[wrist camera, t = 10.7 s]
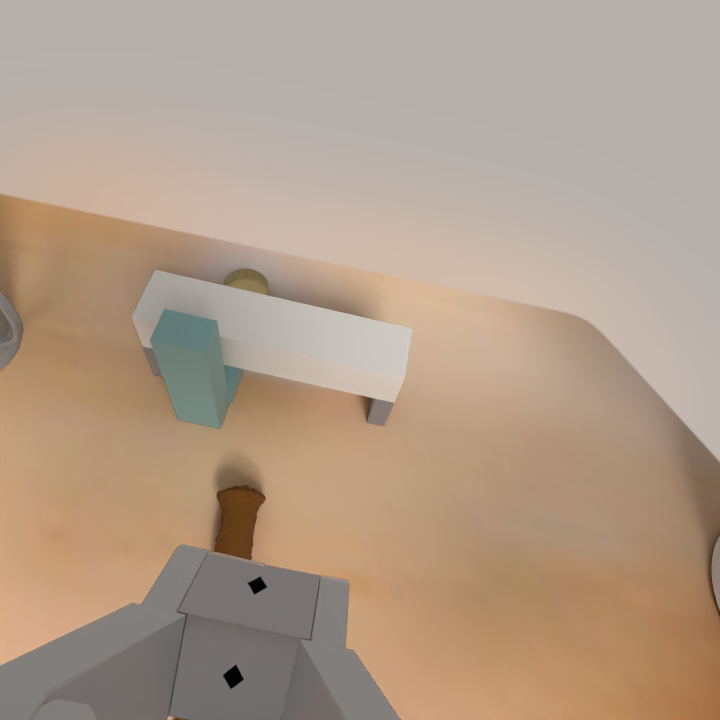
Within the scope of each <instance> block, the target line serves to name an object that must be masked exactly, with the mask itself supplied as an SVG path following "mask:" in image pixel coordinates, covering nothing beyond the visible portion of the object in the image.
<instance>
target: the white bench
mask: <svg viewBox="0 0 720 720" xmlns="http://www.w3.org/2000/svg"><path fill="white" fill-rule="evenodd" d="M164 309H167V310H172V311H176V312H181V313H185V314H190V315H194V316H198V317H203V318H207V319H212V320H216V321H217V322H218V329H219V335H220V342H221V349H222V355H223V362H224V365H227V366H232V367H236V368H241V369H245V370H250V371H254V372H259V373H263V374H268V375H272V376H277V377H281V378H286V379H290V380H294V381H299V382H303V383H308V384H312V385H317V386H321V387H326V388H330V389H335V390H339V391H344V392H348V393H353V394H357V395H361V396H366V397H370V398H371V403H370V409H369V414H368V420H367V422H368V423H373V424H377V425H382V426H384V425H385V423H386V421H387V418H388V416H389V414H390V412H391V409H392V407H393V405H394V402H395V400H396V398H397V396H398V393H399V391H400V389H401V387H402V384H403V382H404V380H405V376H406V369H407V363H408V356H409V349H410V343H411V336H412V329H413V328H409V327H404V326H400V325H395V324H391V323H387V322H382V321H378V320H374V319H369V318H365V317H360V316H356V315H352V314H347V313H343V312H338V311H334V310H330V309H325V308H321V307H317V306H312V305H308V304H303V303H299V302H295V301H290V300H286V299H282V298H277V297H273V296H268V295H264V294H260V293H255V292H251V291H247V290H242V289H238V288H233V287H229V286H225V285H220V284H216V283H211V282H207V281H203V280H198V279H194V278H190V277H185V276H181V275H176V274H172V273H168V272H163V271H159V270H155V271H154V273H153V275H152V277H151V279H150V281H149V283H148V285H147V287H146V289H145V291H144V293H143V295H142V297H141V299H140V301H139V303H138V305H137V307H136V309H135V311H134V313H133V315H132V320H133V322H134V325H135V327H136V330H137V333H138V335H139V338H140V340H141V343H142V346H143V348H144V351H145V354H146V356H147V359H148V361H149V364H150V367H151V369H152V372H153V374H154V375H157V376H161V377H163V376H162V373H161V371H160V368H159V365H158V362H157V359H156V357H155V354H154V351H153V348H152V345H151V343H150V338H151V336H152V334H153V332H154V330H155V328H156V325H157V323H158V321H159V319H160V317H161V315H162V313H163V310H164Z"/></svg>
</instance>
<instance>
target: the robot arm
mask: <svg viewBox="0 0 720 720" xmlns="http://www.w3.org/2000/svg"><path fill="white" fill-rule="evenodd" d="M712 582H713V588H714V593H715V597H716V601H717V604H718V607H719V610H720V536H719V538H718V540H717V542H716V544H715V547H714V551H713V556H712ZM349 587H350V583H349V581H348V580H345V579H340V578H335V577H329V576H324V575H321V576H319V575H315V574H310V573H305V572H300V571H295V570H290V569H285V568H280V567H275V566H271V565H266V564H264V563H260V562H256V561H252V560H248V559H244V558H240V557H235V556H231V555H227V554H223V553H219V552H215V551H210V552H209V551H208V550H206V549H202V548H197V547H192V546H188V545H183V544H182V545H180V546H179V547H177V548H176V550H175V551H174V553H173V555H172V556H171V558H170V559H169V561H168V563H167V564H166V566H165V567H164V569H163V570H162V572H161V574H160V575H159V577H158V578H157V580H156V582H155V583H154V585H153V586H152V588H151V590H150V591H149V593H148V594H147V596H146V598H145V599H144V601H143V602H142V604H141V605H140V604H135V603H131V604H129V605H127V606H125V607H123V608H121V609H118V610H116V611H114V612H112V613H110V614H108V615H106V616H104V617H102V618H100V619H97V620H95V621H93V622H91V623H89V624H87V625H85V626H83V627H81V628H79V629H76V630H74V631H72V632H70V633H68V634H66V635H64V636H62V637H60V638H58V639H55V640H53V641H51V642H49V643H47V644H45V645H43V646H41V647H39V648H37V649H34V650H32V651H30V652H28V653H26V654H24V655H22V656H20V657H18V658H16V659H13V660H11V661H9V662H7V663H5V664H3V665H1V666H0V720H167V718H168V716H172V717H177V718H183V719H189V720H401V719H400V718H399V716H398V715H397V713H396V712H395V710H394V709H393V707H392V706H391V704H390V703H389V701H388V700H387V698H386V697H385V695H384V694H383V693H382V691H381V690H380V688H379V687H378V685H377V684H376V682H375V681H374V679H373V678H372V676H371V675H370V673H369V672H368V670H367V669H366V667H365V666H364V664H363V663H362V661H361V660H360V659H359V657H358V656H357V654H356V653H355V651H354V650H350V649H346V634H347V618H348V602H349Z"/></svg>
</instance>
